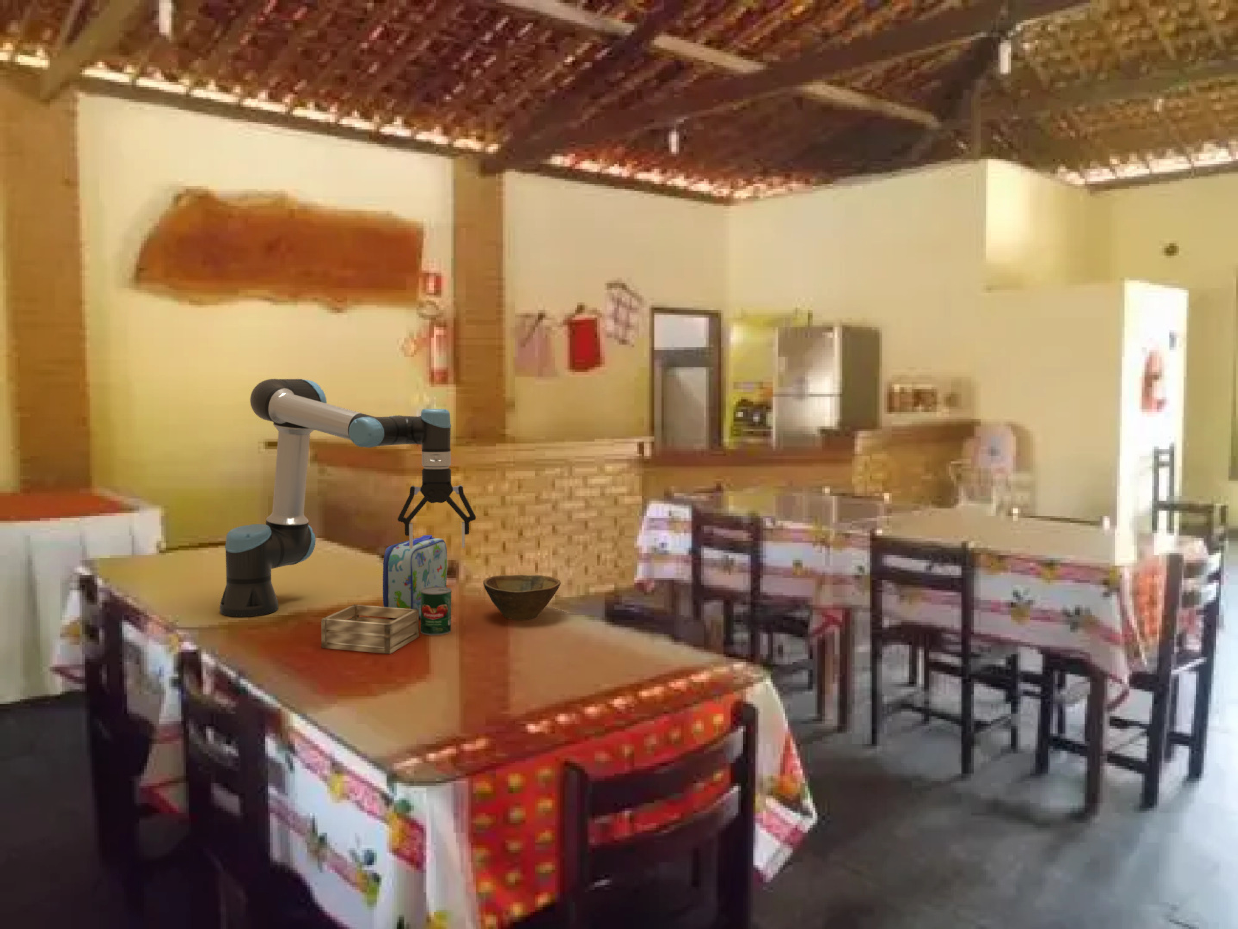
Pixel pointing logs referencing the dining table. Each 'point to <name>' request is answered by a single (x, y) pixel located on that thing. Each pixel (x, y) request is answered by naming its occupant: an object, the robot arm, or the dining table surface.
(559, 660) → the dining table surface
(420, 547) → the lunch box
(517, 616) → the bowl
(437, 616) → the canned tomato
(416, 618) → the crate
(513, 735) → the dining table surface
